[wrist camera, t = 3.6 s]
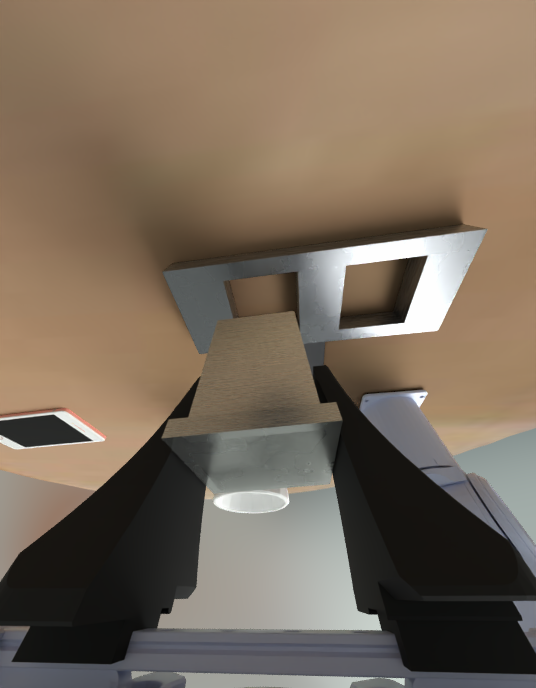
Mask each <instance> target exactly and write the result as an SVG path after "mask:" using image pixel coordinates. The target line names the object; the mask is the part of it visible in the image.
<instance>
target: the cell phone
mask: <svg viewBox="0 0 536 688" xmlns="http://www.w3.org/2000/svg"><path fill="white" fill-rule="evenodd" d="M105 439H106V436H105V435H104V434H102V433H101V432H100V431H98V430H97V429H95V428H94V427H93V426H91V425H90V424H89V423H87V422H86V421H84V420H83V419H82V418H80V417H79V416H78V415H76V414H75V413H73V412H72V411H71V410H69V409H66V408H61V409H52V410H44V411H35V412H27V413H18V414H9V415H1V416H0V443H2V444H4V445H6V446H8V447H11V448H13V449H25V448H36V447H46V446H57V445H68V444H78V443H89V442H99V441H104V440H105Z"/></svg>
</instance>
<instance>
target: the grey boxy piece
mask: <svg viewBox="0 0 536 688" xmlns="http://www.w3.org/2000/svg"><path fill="white" fill-rule="evenodd" d="M342 421H343V420H342V417H341V414H340V411H339V409H338V406H337V403H336V402H332V403H322V404H320V401H319V398H318V394H317V391H316V387H315V384H314V380H313V377H312V373H311V369H310V366H309V362H308V359H307V355H306V352H305V348H304V344H303V341H302V337H301V334H300V330H299V327H298V323H297V319H296V316H295V312H294V311H288V312H280V313H272V314H264V315H257V316H249V317H241V318H233V319H225V320H218V321H217V324H216V328H215V331H214V334H213V338H212V341H211V344H210V347H209V351H208V354H207V357H206V361H205V364H204V367H203V370H202V374H201V377H200V380H199V384H198V387H197V390H196V393H195V397H194V400H193V403H192V407H191V410H190V413H189V417H187V418H178V419H169V420H168V423H167V425H166V428H165V430H164V433H163V436H162V440H163V441H164V442H165V443H166V444H167V445H168V446H169V447H170V448H171V449H172V450H173V451H174V452H175V453H176V454H177V455H178V456H179V458H180V459H181V460H182V461H183V462H184V463H185V464H186V465H187V466H188V467H189V468H190V469H191V470H192V471H193V472H194V473H195V474H196V476H197V477H198V478H199V479H200V480H201V481H202V482H203V483H204V484H205V485H206V486H207V487H208V488H209V489H210V490H211V491H212V492H213V494H218V493H230V492H242V491H253V490H265V489H277V488H289V487H301V486H313V485H325V484H330V481H331V476H332V471H333V466H334V461H335V456H336V451H337V446H338V441H339V436H340V431H341V426H342Z"/></svg>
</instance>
